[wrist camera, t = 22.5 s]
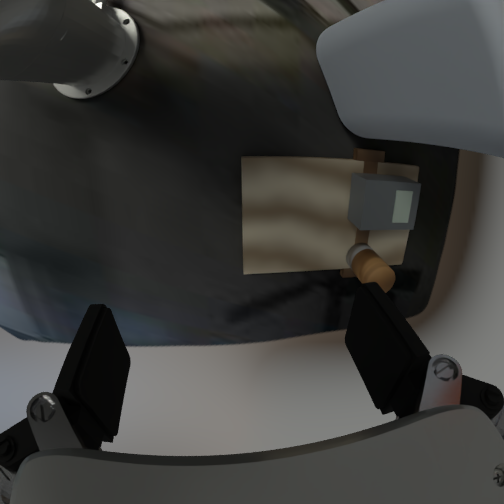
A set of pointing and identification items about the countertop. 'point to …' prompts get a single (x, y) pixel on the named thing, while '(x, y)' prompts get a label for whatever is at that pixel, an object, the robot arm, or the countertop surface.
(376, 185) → the block
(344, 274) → the board
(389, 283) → the orange brown cylinder
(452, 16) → the plastic bottle
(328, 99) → the countertop surface
